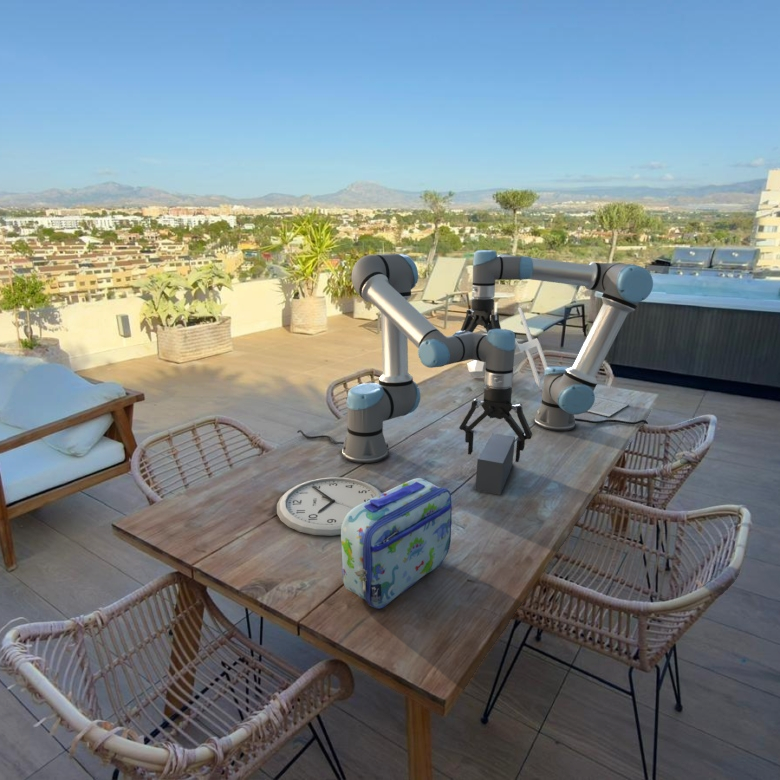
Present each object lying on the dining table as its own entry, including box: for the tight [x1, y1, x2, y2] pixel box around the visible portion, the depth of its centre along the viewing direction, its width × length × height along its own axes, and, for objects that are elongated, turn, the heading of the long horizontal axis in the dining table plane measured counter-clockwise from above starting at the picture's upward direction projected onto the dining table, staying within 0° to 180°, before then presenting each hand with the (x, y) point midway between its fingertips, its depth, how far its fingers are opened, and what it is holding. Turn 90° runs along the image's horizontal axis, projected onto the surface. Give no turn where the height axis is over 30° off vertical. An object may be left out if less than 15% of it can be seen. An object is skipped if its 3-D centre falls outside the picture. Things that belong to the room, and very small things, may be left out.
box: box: [474, 432, 516, 496], centre depth 159 cm, size 22×7×10 cm, turn 158°
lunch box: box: [340, 477, 452, 610], centre depth 110 cm, size 26×11×21 cm, turn 134°
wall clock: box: [276, 476, 383, 537], centre depth 142 cm, size 30×2×30 cm
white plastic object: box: [466, 306, 549, 391], centre depth 258 cm, size 37×45×31 cm
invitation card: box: [587, 396, 629, 418], centre depth 226 cm, size 21×1×15 cm
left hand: (493, 456), depth 151 cm, fingers open, 13 cm apart
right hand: (480, 359), depth 183 cm, fingers open, 13 cm apart
